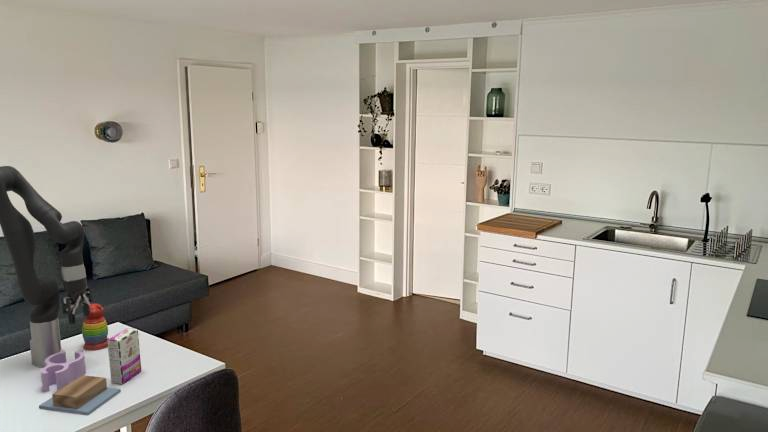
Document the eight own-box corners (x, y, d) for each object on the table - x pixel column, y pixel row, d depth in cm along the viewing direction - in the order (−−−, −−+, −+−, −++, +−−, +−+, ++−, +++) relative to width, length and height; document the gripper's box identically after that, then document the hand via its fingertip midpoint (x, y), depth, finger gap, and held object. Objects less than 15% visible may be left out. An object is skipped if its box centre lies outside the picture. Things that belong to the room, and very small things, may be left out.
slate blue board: (39, 408, 189) (38, 405, 189) (74, 385, 205) (74, 383, 205) (88, 415, 186) (87, 412, 186) (120, 391, 201) (120, 388, 201)
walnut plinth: (53, 405, 189) (52, 394, 189) (83, 385, 203) (82, 375, 202) (77, 409, 187) (76, 397, 187) (106, 388, 201) (106, 377, 200)
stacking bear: (117, 342, 243) (113, 300, 239) (100, 352, 233) (96, 309, 230) (94, 339, 245) (90, 298, 242) (76, 349, 235) (72, 306, 232)
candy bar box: (129, 369, 218) (126, 327, 215) (141, 371, 217) (139, 328, 214) (110, 383, 207) (106, 339, 204) (122, 385, 206) (119, 340, 203)
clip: (72, 391, 202) (70, 372, 200) (32, 393, 200) (30, 374, 198) (91, 365, 221) (90, 348, 220) (56, 367, 219) (54, 350, 218)
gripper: (76, 271, 221) (82, 313, 223) (51, 282, 207) (57, 326, 209) (95, 271, 220) (100, 313, 223) (71, 282, 206) (77, 326, 209)
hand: (80, 319), depth 216 cm, fingers open, 8 cm apart
